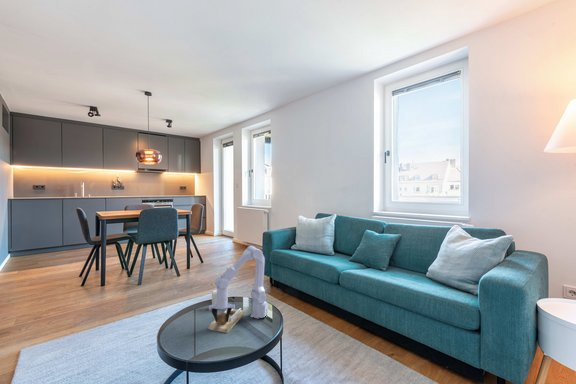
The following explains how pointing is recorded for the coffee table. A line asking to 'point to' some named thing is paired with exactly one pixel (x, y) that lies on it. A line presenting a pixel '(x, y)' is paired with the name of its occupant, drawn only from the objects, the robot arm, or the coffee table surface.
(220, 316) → the walnut block
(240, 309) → the channel
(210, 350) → the coffee table surface
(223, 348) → the coffee table surface
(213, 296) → the photo printer
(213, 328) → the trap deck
